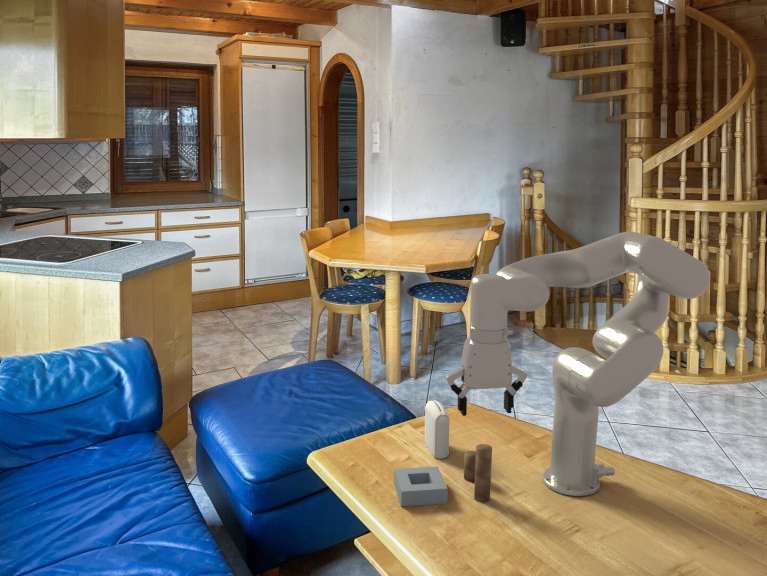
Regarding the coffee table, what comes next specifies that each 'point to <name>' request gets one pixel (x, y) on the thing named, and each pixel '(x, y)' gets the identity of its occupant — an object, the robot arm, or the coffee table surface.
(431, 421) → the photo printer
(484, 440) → the coffee table surface
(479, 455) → the tall dowel
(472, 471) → the short dowel
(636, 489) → the coffee table surface
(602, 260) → the robot arm
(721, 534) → the coffee table surface
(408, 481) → the hole block
